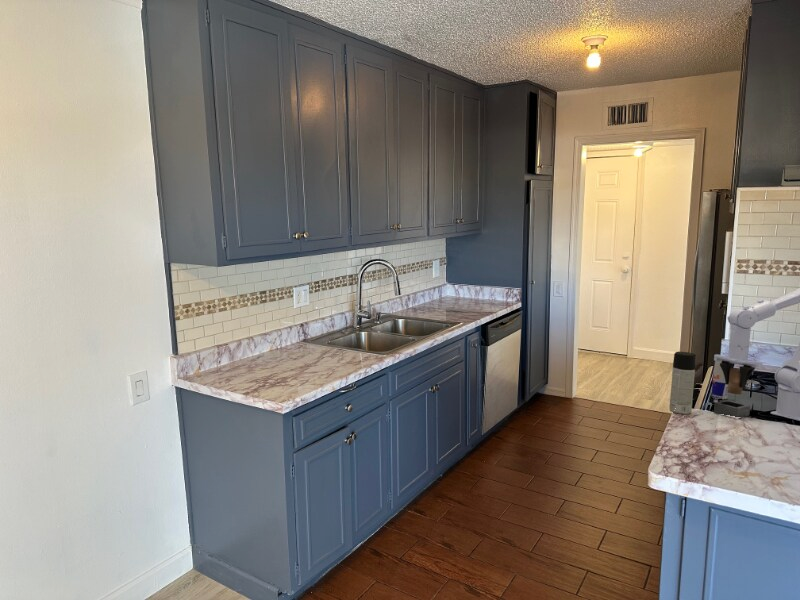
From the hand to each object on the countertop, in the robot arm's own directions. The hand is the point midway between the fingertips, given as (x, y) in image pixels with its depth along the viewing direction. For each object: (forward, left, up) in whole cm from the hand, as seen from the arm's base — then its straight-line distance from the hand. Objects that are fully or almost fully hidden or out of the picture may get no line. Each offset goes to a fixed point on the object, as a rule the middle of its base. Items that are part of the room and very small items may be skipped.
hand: (735, 385), depth 187 cm
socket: (-1, +2, -10) cm, 10 cm away
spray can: (+9, +15, -10) cm, 20 cm away
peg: (0, 0, -2) cm, 2 cm away
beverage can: (+12, -15, -10) cm, 22 cm away
